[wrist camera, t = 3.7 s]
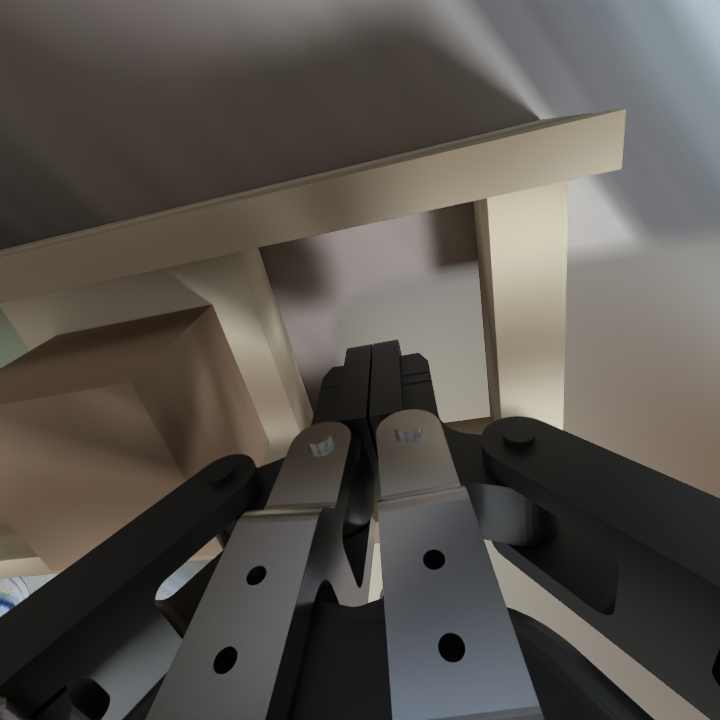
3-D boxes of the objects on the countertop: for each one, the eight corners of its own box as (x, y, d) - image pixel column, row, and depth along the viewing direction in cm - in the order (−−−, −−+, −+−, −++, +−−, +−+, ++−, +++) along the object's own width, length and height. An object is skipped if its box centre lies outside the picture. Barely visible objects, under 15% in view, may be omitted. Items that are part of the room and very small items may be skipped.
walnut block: (56, 335, 13) (-86, 420, 9) (212, 304, 12) (130, 382, 8) (135, 461, 16) (51, 570, 12) (269, 443, 15) (227, 553, 11)
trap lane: (-336, 330, 16) (-566, 391, 12) (541, 119, 11) (626, 108, 7) (-127, 516, 21) (-243, 601, 17) (542, 429, 16) (593, 522, 12)
